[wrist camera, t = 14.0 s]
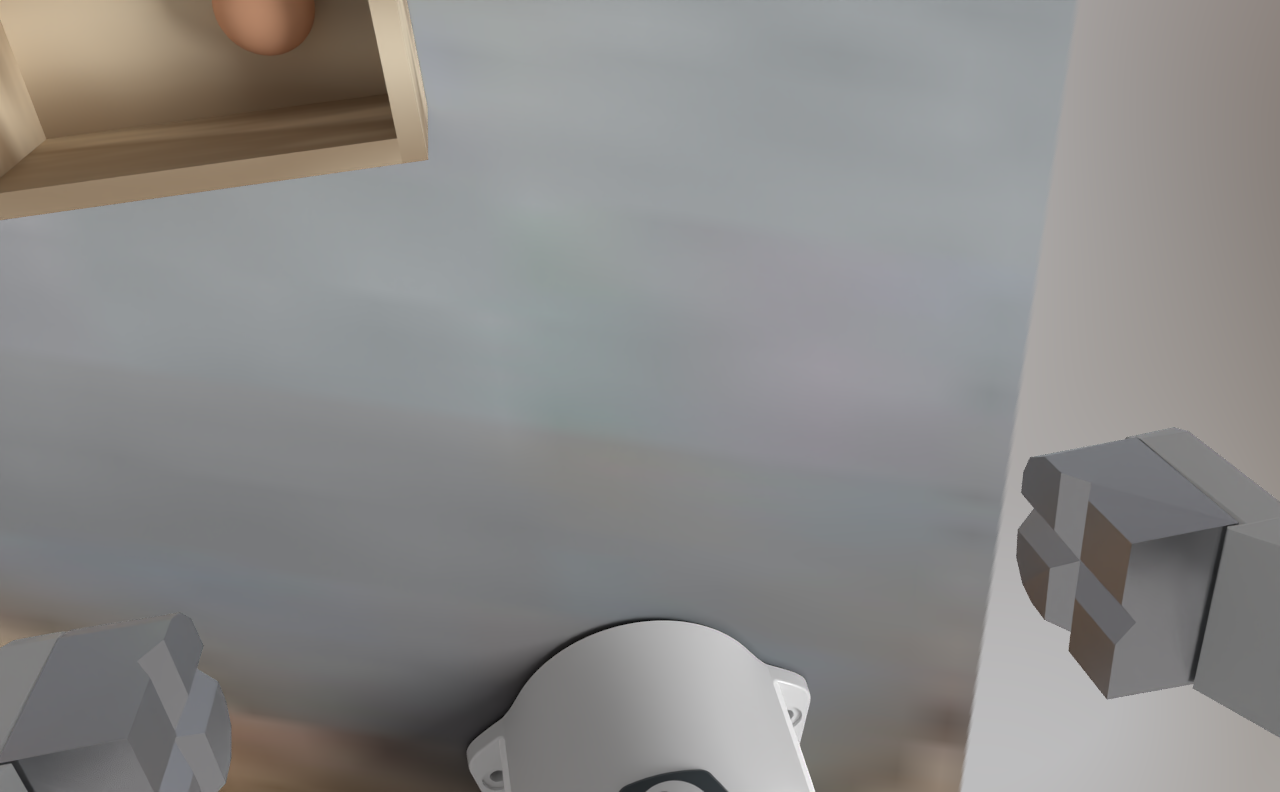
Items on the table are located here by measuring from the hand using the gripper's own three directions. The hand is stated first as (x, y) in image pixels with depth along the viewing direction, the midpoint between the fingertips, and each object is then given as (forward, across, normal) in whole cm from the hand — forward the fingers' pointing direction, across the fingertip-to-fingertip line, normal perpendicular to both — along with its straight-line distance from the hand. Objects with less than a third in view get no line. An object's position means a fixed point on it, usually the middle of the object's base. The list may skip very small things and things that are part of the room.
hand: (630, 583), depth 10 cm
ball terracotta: (+31, +7, -3) cm, 32 cm away
